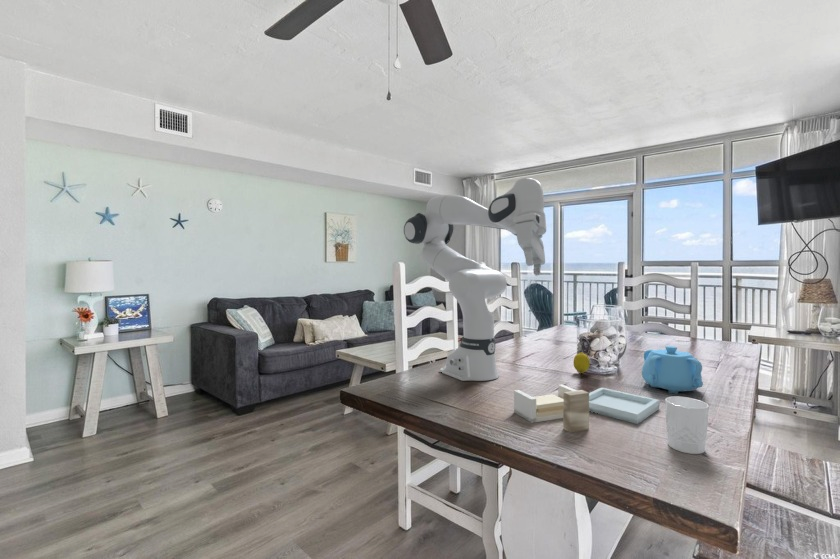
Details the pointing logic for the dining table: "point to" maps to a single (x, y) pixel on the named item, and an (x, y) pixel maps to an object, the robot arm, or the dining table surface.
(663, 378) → the decorative pot
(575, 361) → the lemon
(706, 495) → the dining table surface
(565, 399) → the upright wood block
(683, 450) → the white cup
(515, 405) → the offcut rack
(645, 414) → the ceramic tray
